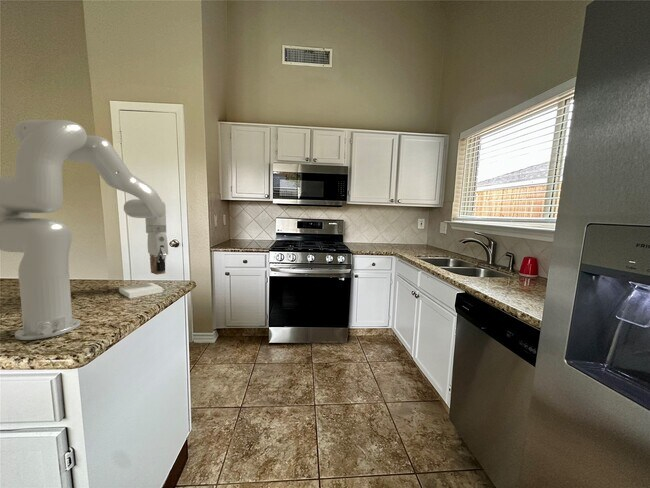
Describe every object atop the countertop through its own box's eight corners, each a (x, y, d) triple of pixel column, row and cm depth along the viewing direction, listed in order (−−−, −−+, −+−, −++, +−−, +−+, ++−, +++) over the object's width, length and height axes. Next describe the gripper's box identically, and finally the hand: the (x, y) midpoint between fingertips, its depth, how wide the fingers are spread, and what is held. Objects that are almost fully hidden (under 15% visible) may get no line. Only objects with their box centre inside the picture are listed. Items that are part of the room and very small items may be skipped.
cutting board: (162, 291, 112) (162, 287, 112) (129, 298, 103) (129, 293, 103) (151, 287, 119) (151, 282, 119) (119, 292, 110) (119, 287, 110)
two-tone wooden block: (165, 273, 116) (164, 255, 115) (156, 274, 113) (155, 256, 112) (159, 271, 119) (158, 254, 118) (150, 272, 116) (150, 254, 115)
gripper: (174, 230, 112) (175, 271, 114) (157, 228, 122) (159, 266, 124) (154, 230, 106) (156, 274, 108) (138, 228, 116) (140, 268, 118)
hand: (157, 269), depth 116 cm, fingers closed on two-tone wooden block, 6 cm apart
